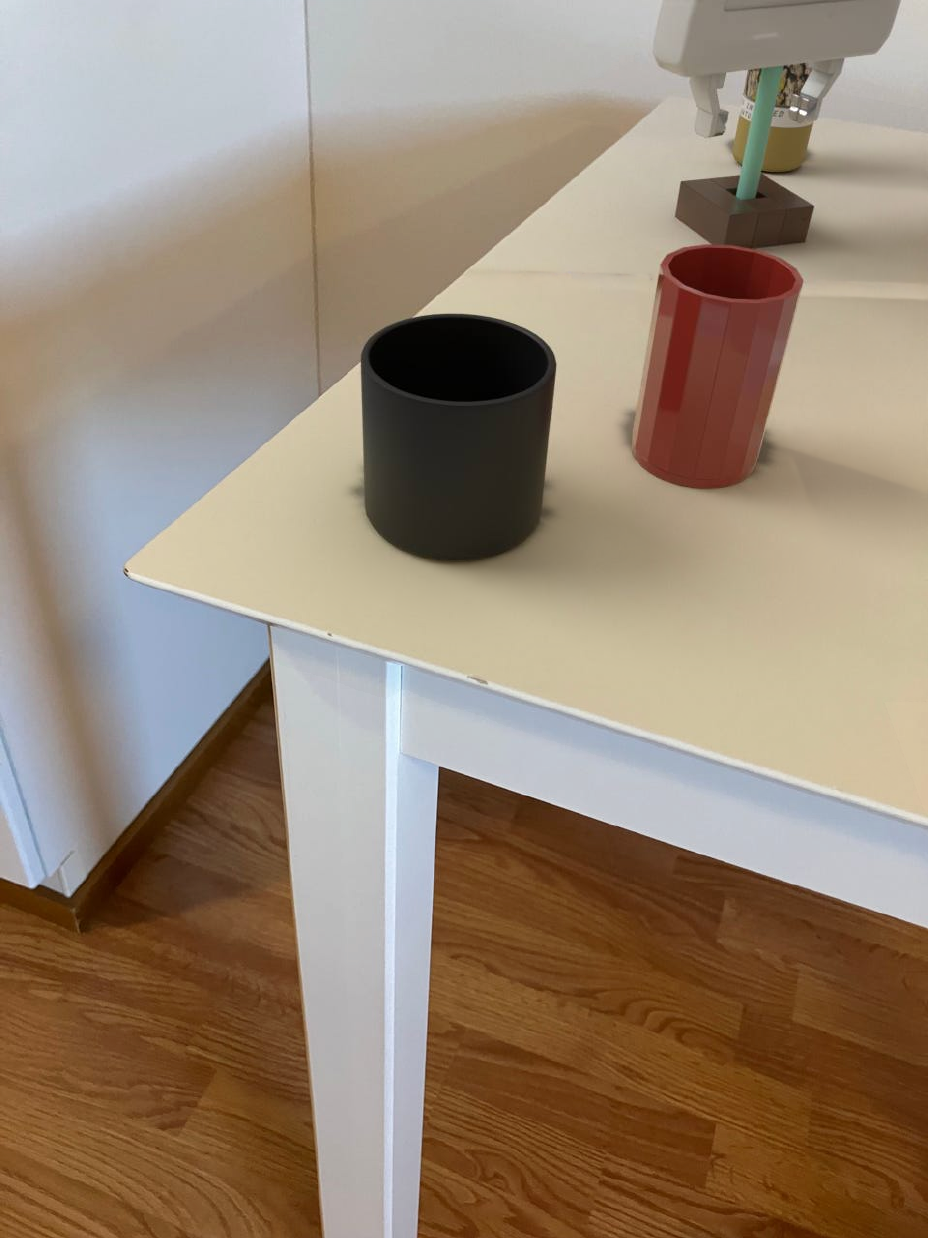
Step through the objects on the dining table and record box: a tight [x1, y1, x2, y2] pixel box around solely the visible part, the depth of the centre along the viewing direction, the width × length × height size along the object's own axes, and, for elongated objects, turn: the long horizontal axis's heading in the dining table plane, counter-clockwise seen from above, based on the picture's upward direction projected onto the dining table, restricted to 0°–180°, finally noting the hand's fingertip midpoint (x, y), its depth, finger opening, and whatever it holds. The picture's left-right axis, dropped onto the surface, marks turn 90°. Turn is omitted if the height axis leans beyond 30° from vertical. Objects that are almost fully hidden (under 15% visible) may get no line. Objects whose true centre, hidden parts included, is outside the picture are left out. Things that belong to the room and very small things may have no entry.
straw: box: [736, 66, 784, 200], centre depth 81 cm, size 2×2×16 cm
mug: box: [360, 313, 557, 561], centre depth 55 cm, size 9×12×9 cm
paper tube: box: [732, 62, 815, 173], centre depth 94 cm, size 7×7×25 cm
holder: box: [674, 172, 815, 250], centre depth 85 cm, size 8×8×4 cm
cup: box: [631, 243, 805, 489], centre depth 59 cm, size 7×7×11 cm
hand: (756, 127), depth 81 cm, fingers open, 8 cm apart
